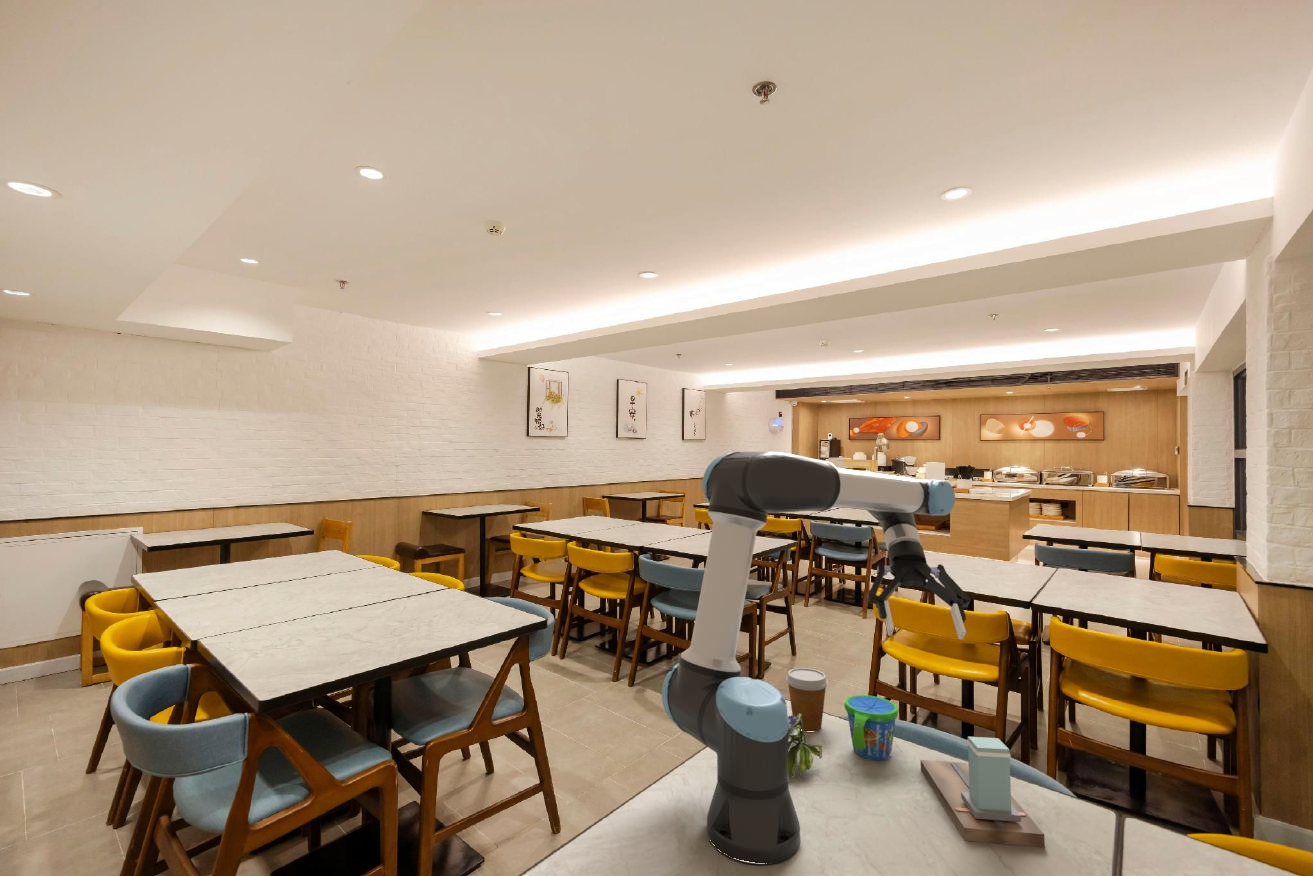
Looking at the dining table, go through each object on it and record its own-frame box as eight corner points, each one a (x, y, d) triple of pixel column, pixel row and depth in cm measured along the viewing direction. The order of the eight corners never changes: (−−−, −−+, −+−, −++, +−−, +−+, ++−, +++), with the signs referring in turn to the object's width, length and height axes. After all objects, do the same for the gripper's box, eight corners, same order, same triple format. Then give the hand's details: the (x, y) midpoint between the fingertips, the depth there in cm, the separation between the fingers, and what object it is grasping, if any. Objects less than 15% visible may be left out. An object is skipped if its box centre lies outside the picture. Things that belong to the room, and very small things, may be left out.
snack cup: (865, 733, 131) (864, 687, 131) (911, 749, 123) (910, 700, 124) (830, 756, 120) (829, 707, 120) (879, 776, 112) (878, 722, 113)
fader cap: (975, 818, 94) (973, 750, 95) (961, 797, 100) (959, 733, 101) (1021, 822, 94) (1018, 752, 94) (1003, 801, 99) (1001, 736, 100)
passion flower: (774, 786, 118) (761, 723, 126) (826, 779, 117) (810, 716, 125) (773, 778, 110) (759, 711, 117) (830, 770, 109) (812, 703, 116)
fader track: (964, 840, 93) (964, 826, 93) (920, 770, 114) (920, 758, 115) (1044, 847, 91) (1044, 832, 91) (984, 774, 113) (984, 763, 113)
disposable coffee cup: (830, 737, 128) (829, 683, 129) (787, 733, 130) (786, 679, 131) (826, 719, 138) (825, 668, 138) (786, 716, 140) (785, 666, 140)
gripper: (958, 561, 132) (987, 647, 116) (846, 557, 135) (859, 640, 120) (967, 540, 127) (998, 627, 111) (850, 537, 130) (864, 620, 115)
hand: (926, 634), depth 115 cm, fingers open, 13 cm apart
